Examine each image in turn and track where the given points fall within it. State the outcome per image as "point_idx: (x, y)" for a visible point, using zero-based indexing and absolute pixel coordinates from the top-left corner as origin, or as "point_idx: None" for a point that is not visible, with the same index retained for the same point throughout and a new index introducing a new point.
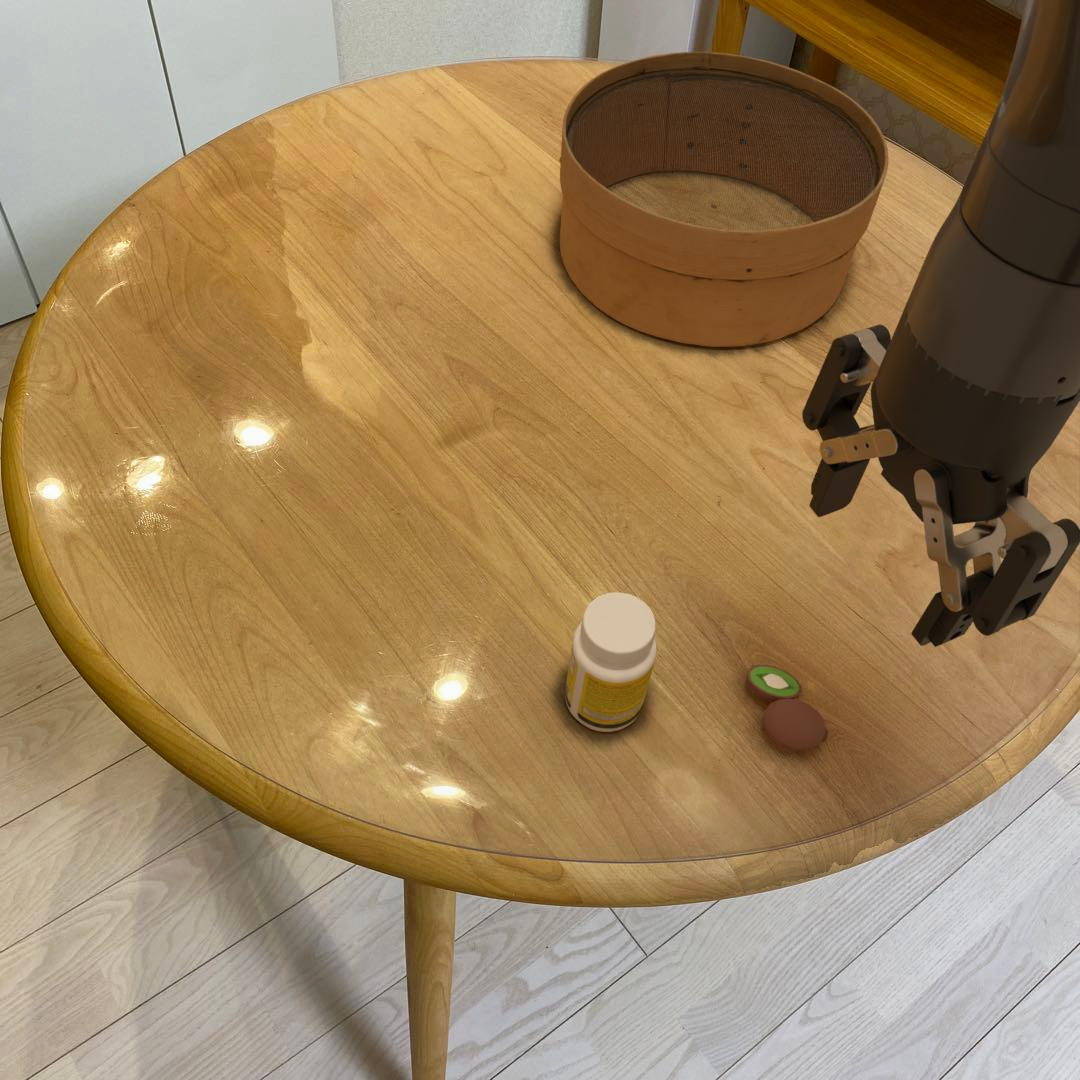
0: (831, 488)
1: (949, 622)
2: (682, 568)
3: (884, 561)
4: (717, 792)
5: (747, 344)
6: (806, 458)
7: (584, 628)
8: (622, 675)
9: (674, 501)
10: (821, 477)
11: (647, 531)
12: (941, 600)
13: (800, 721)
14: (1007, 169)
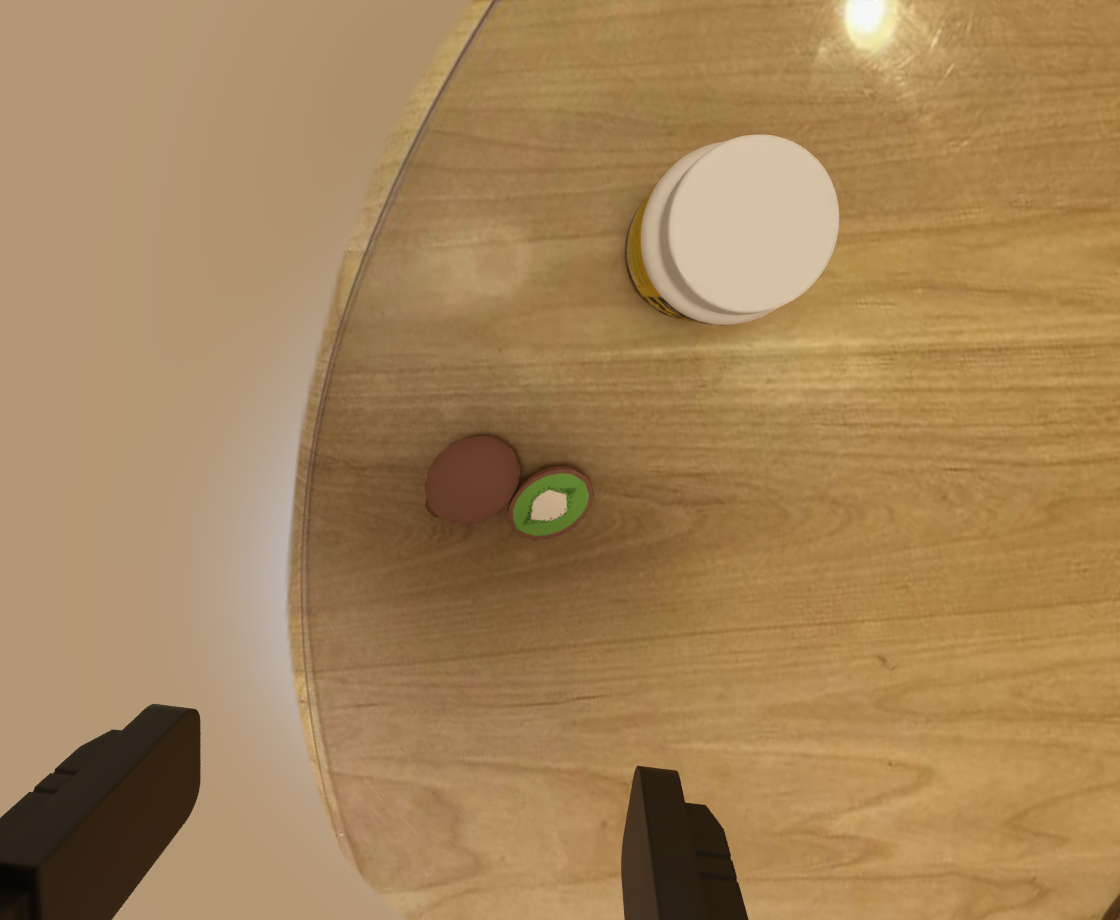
0: (649, 875)
1: (19, 818)
2: (816, 525)
3: None
4: (457, 311)
5: (1118, 916)
6: (861, 831)
7: (788, 140)
8: (658, 194)
9: (933, 600)
10: (697, 883)
11: (913, 523)
12: (4, 864)
13: (455, 482)
14: None
